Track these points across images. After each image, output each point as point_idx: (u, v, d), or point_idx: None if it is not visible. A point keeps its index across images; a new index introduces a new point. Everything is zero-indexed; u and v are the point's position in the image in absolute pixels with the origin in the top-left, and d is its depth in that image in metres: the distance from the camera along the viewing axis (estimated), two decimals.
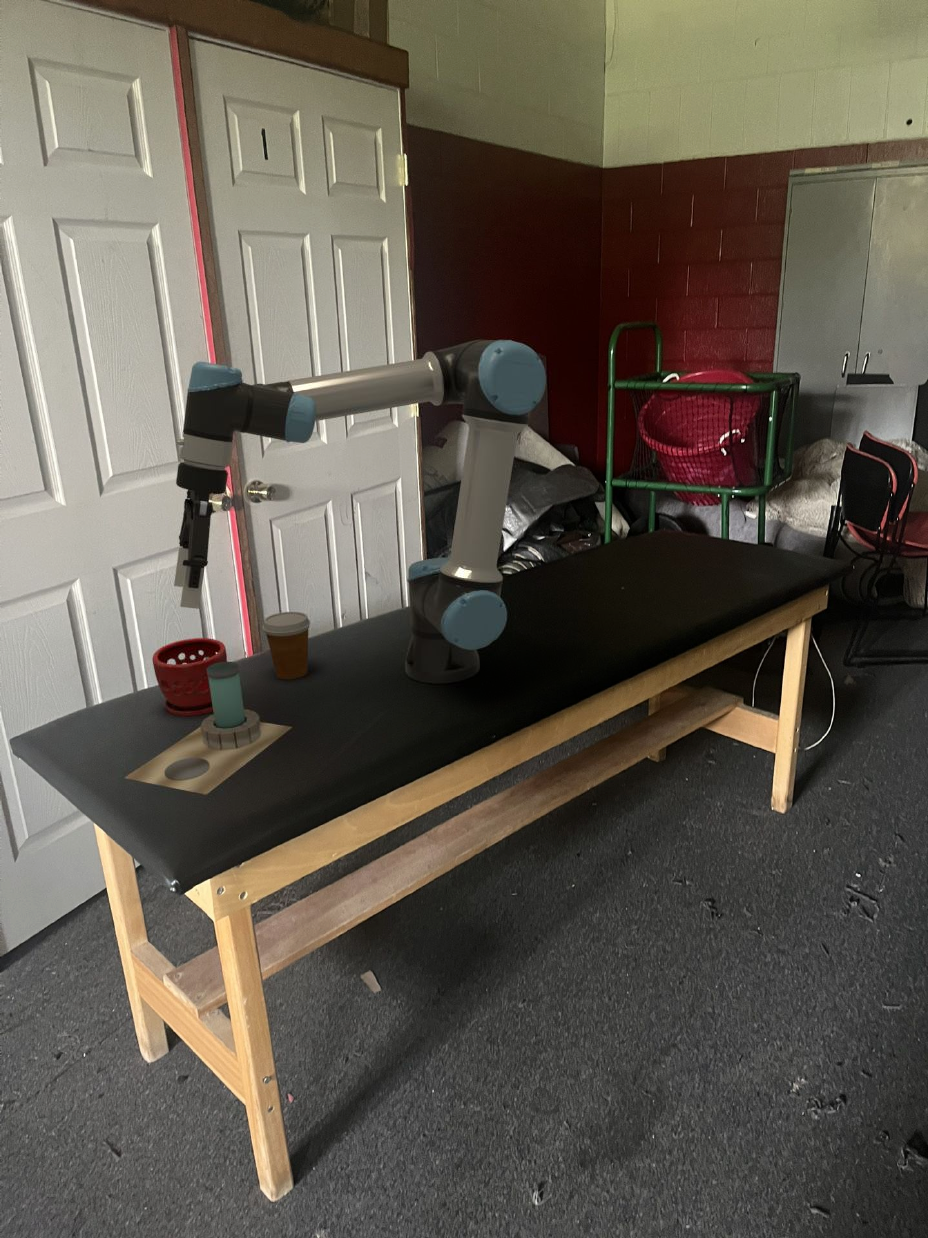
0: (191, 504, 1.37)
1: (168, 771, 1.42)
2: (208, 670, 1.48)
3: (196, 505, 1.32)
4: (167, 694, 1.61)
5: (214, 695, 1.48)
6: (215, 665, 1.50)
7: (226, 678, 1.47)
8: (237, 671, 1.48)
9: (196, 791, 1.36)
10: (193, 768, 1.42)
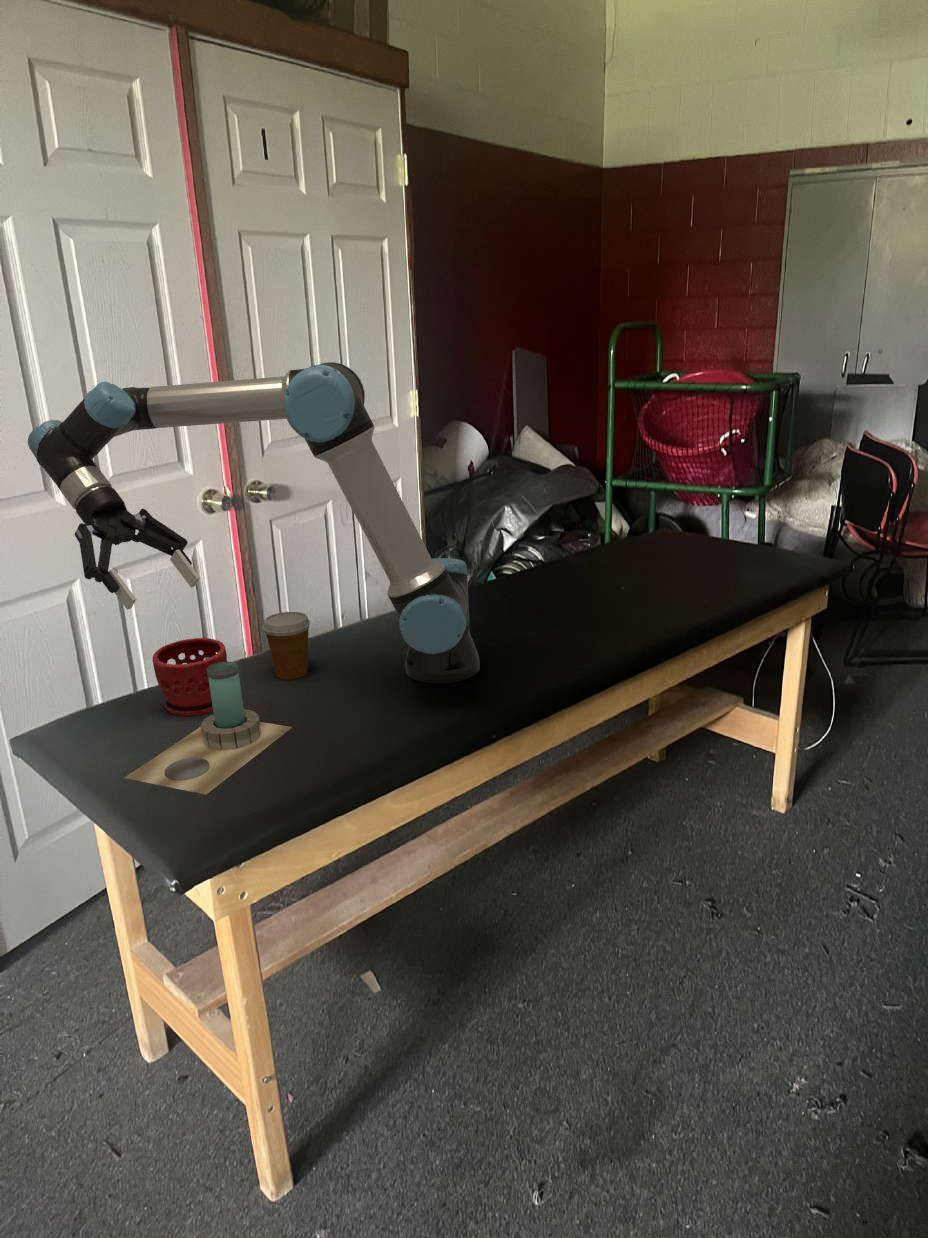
0: None
1: (168, 771, 1.42)
2: (208, 670, 1.48)
3: (75, 535, 1.48)
4: (167, 694, 1.61)
5: (214, 695, 1.48)
6: (215, 665, 1.50)
7: (226, 678, 1.47)
8: (237, 671, 1.48)
9: (196, 791, 1.36)
10: (193, 768, 1.42)
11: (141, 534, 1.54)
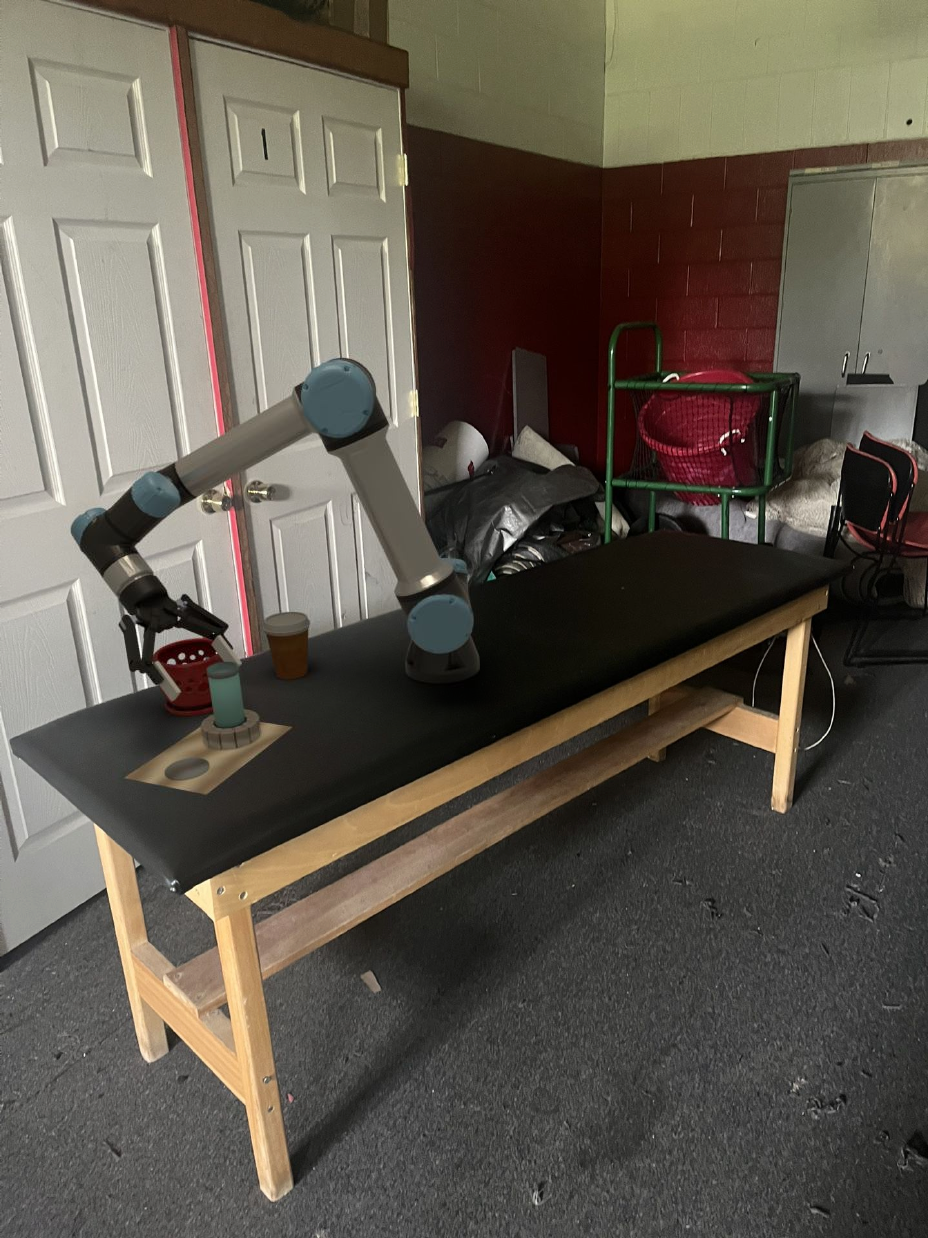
0: None
1: (168, 771, 1.42)
2: (208, 670, 1.48)
3: (119, 626, 1.48)
4: None
5: (214, 695, 1.48)
6: (215, 665, 1.50)
7: (226, 678, 1.47)
8: (237, 671, 1.48)
9: (196, 791, 1.36)
10: (193, 768, 1.42)
11: (183, 620, 1.54)
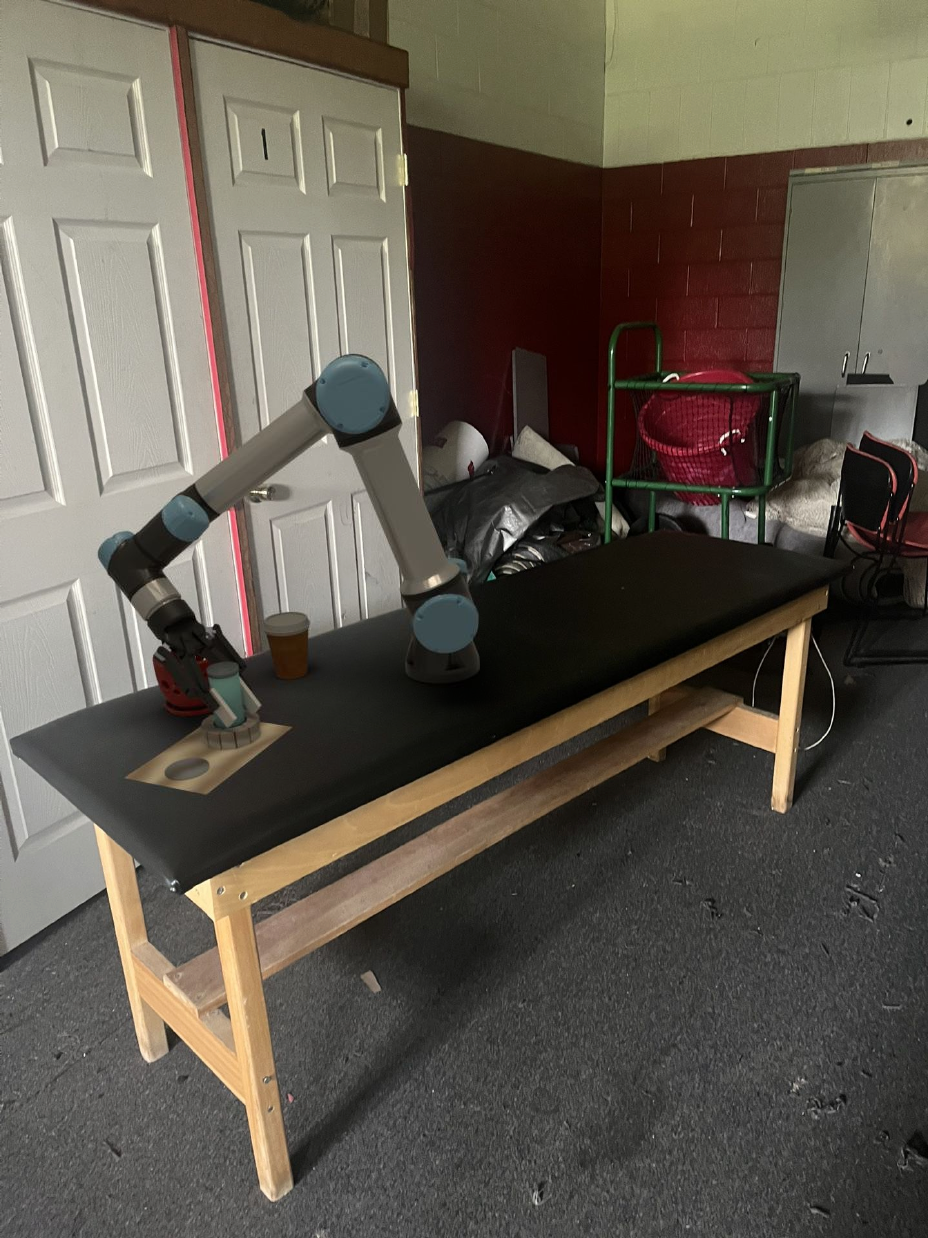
0: None
1: (168, 771, 1.42)
2: (208, 670, 1.48)
3: (155, 658, 1.47)
4: (167, 694, 1.61)
5: None
6: (215, 665, 1.50)
7: (226, 678, 1.47)
8: (237, 671, 1.48)
9: (196, 791, 1.36)
10: (193, 768, 1.42)
11: (207, 650, 1.52)
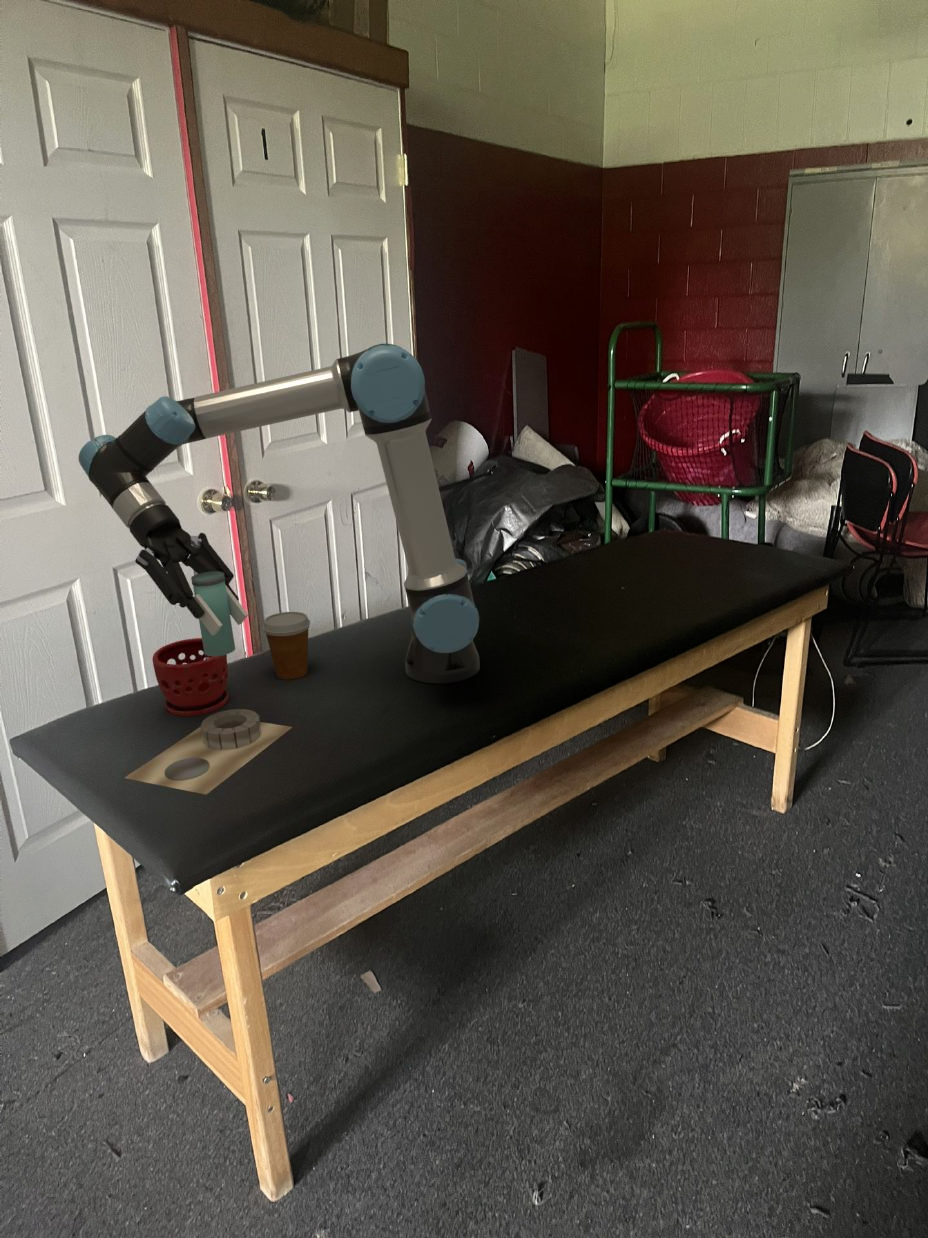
0: None
1: (168, 771, 1.42)
2: (192, 578, 1.42)
3: (138, 563, 1.41)
4: (167, 694, 1.61)
5: None
6: (201, 574, 1.44)
7: (210, 585, 1.41)
8: (222, 579, 1.43)
9: (196, 791, 1.36)
10: (193, 768, 1.42)
11: (192, 557, 1.46)
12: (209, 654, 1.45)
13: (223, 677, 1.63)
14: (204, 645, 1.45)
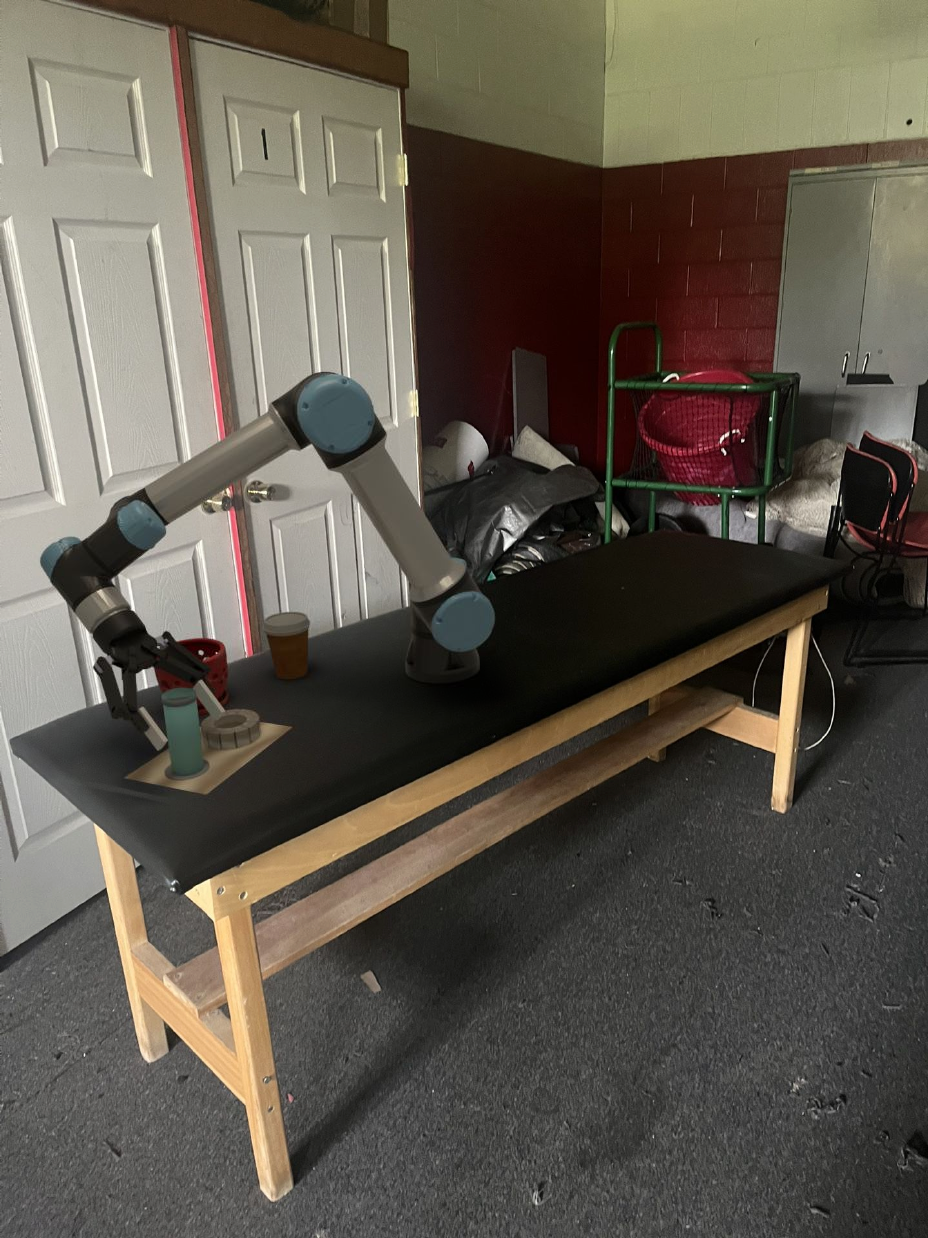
0: None
1: (168, 771, 1.42)
2: (163, 696, 1.37)
3: (94, 669, 1.36)
4: None
5: (168, 723, 1.37)
6: (172, 691, 1.39)
7: (180, 706, 1.36)
8: (194, 699, 1.38)
9: (196, 791, 1.36)
10: None
11: (162, 661, 1.42)
12: (176, 773, 1.40)
13: (223, 677, 1.63)
14: (172, 763, 1.40)
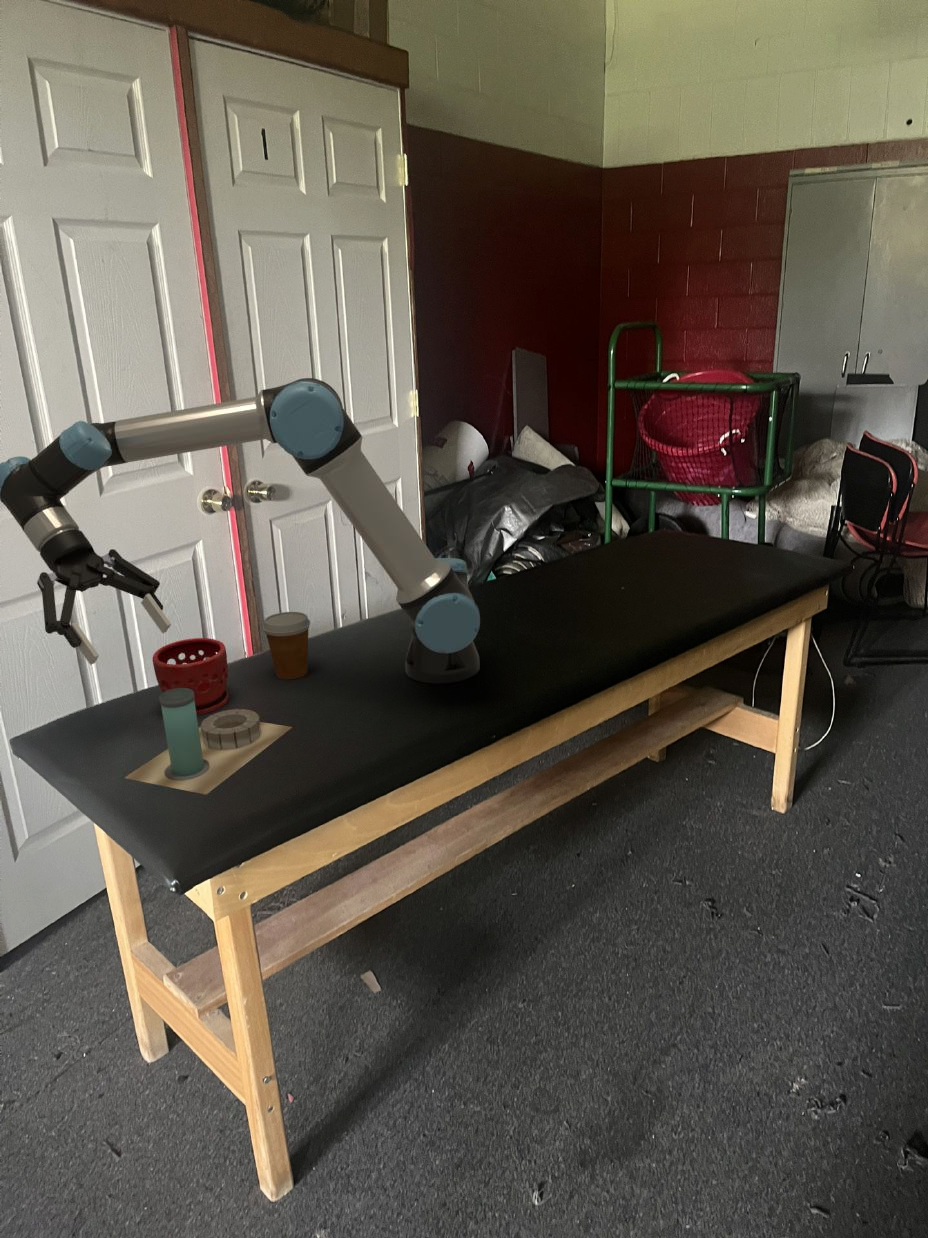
0: None
1: (168, 771, 1.42)
2: (160, 697, 1.37)
3: (38, 584, 1.41)
4: None
5: (167, 724, 1.37)
6: (170, 692, 1.39)
7: (178, 707, 1.36)
8: (191, 699, 1.38)
9: (196, 791, 1.36)
10: None
11: (109, 578, 1.47)
12: (176, 774, 1.40)
13: (223, 677, 1.63)
14: (171, 764, 1.40)
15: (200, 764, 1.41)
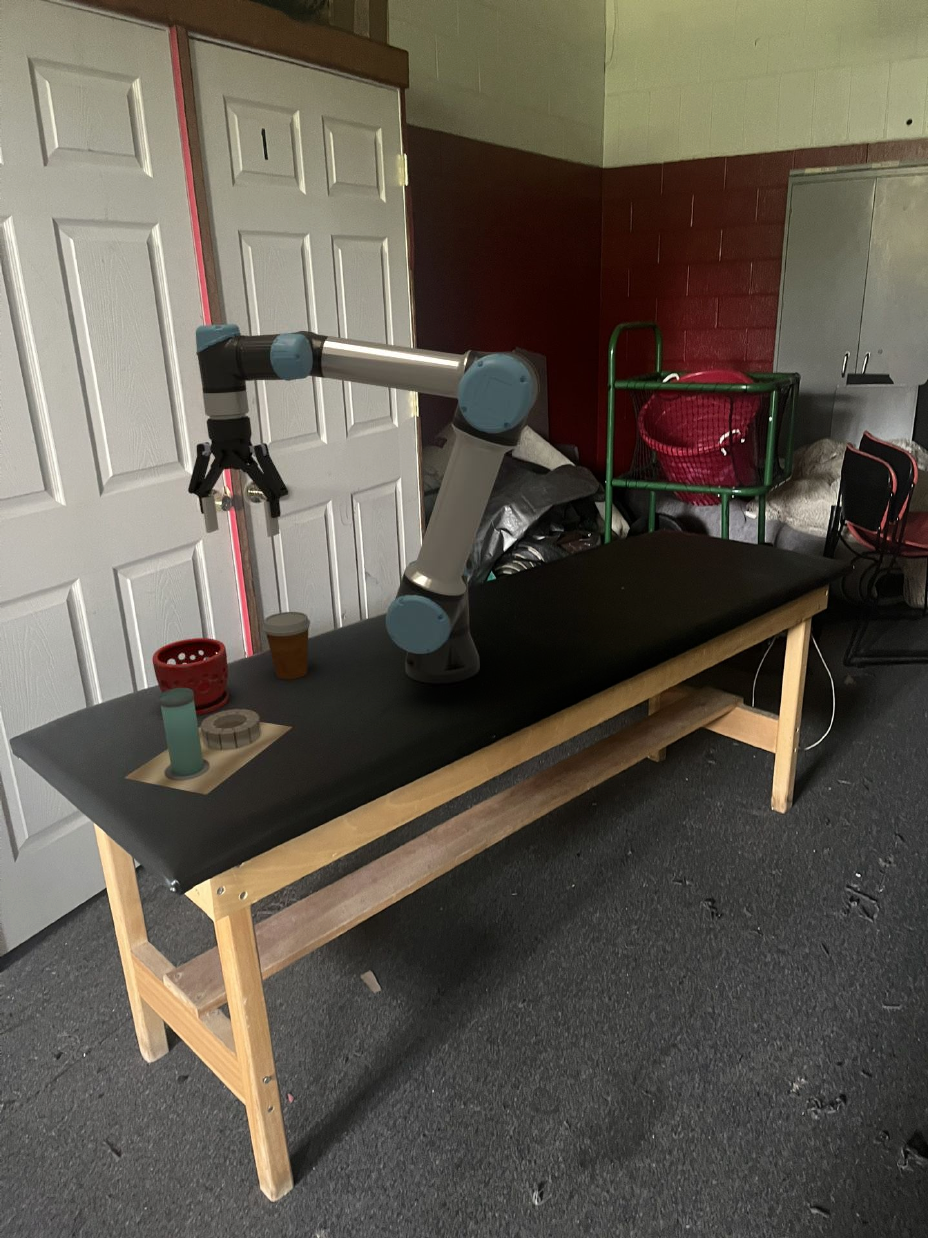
0: None
1: (168, 771, 1.42)
2: (160, 697, 1.37)
3: None
4: None
5: (166, 724, 1.37)
6: (169, 691, 1.39)
7: (178, 706, 1.36)
8: (191, 699, 1.38)
9: (196, 791, 1.36)
10: None
11: None
12: (176, 774, 1.40)
13: (223, 677, 1.63)
14: (171, 764, 1.40)
15: (200, 764, 1.41)
